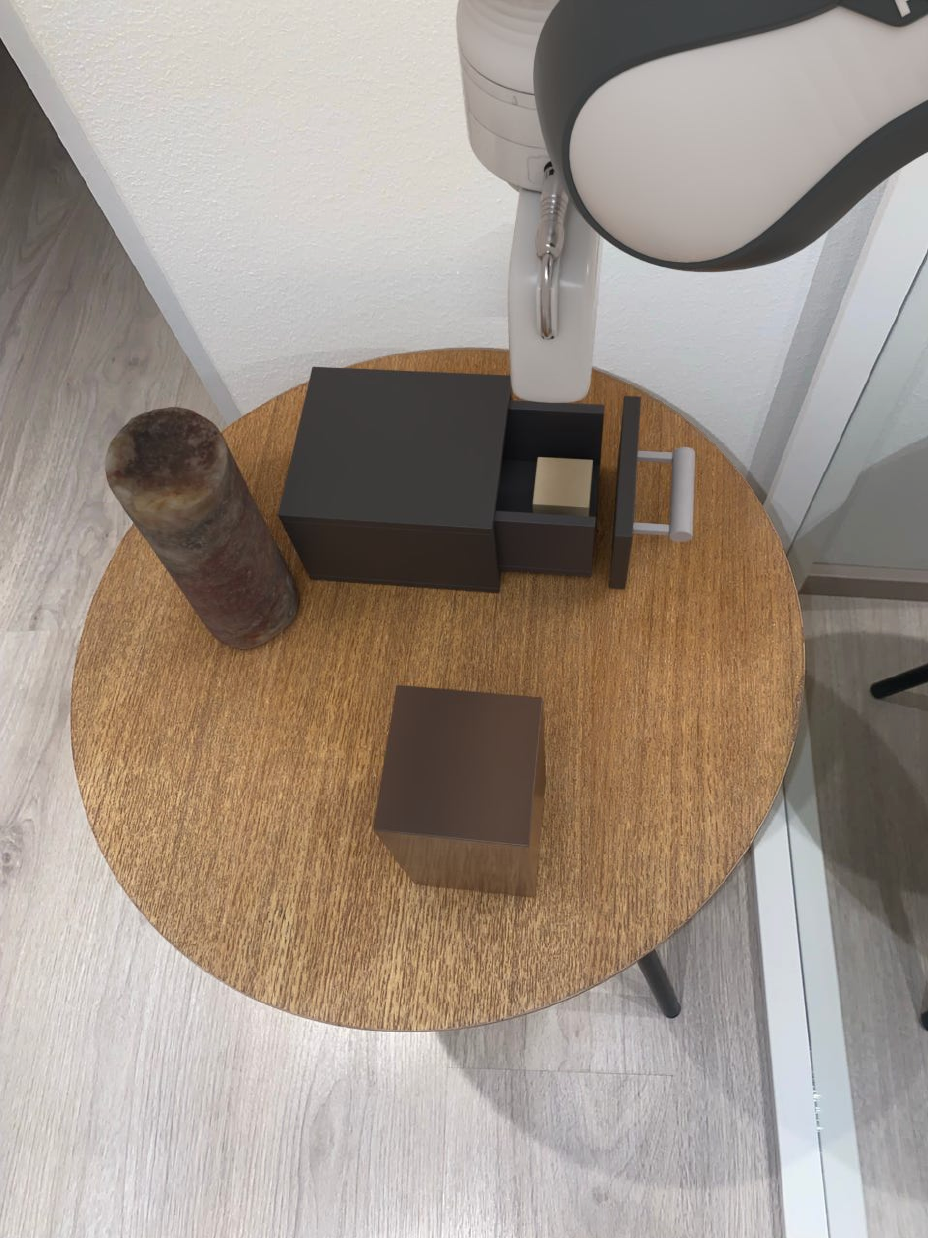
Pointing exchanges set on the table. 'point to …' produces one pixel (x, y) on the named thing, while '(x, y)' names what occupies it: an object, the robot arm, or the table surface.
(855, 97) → the robot arm
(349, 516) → the dark box sleeve
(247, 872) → the table surface
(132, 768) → the table surface
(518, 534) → the drawer
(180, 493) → the brown cylinder
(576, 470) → the cube
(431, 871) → the stand
